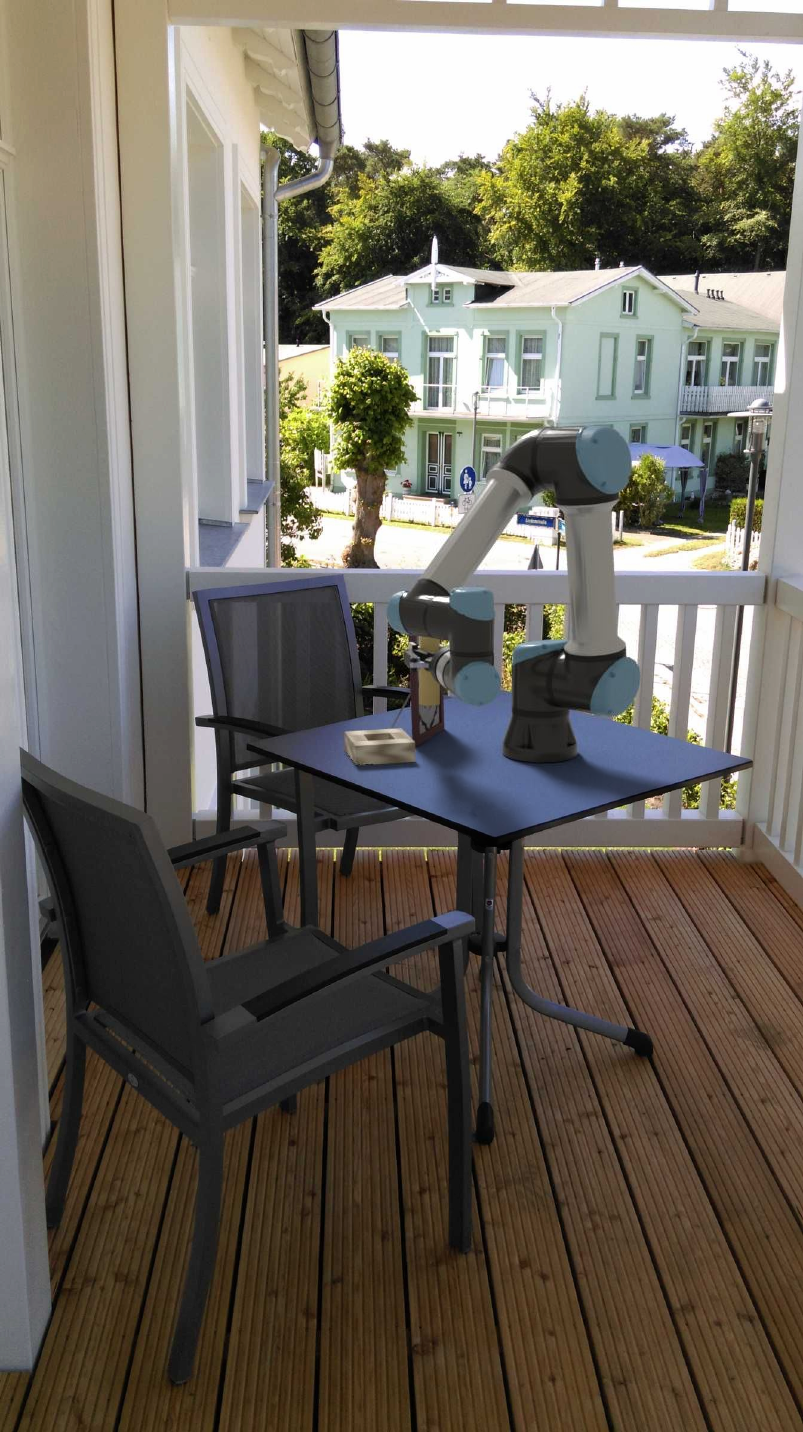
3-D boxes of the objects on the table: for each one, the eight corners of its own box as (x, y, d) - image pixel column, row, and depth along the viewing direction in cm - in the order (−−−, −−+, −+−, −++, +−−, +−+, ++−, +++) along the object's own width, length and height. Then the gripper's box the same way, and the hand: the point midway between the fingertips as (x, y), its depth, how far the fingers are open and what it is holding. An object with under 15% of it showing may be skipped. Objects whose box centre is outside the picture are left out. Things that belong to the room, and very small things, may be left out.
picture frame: (417, 746, 242) (417, 627, 236) (374, 742, 245) (372, 625, 240) (444, 729, 257) (444, 616, 251) (403, 725, 260) (402, 614, 255)
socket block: (401, 746, 242) (401, 728, 241) (415, 761, 230) (415, 742, 229) (344, 750, 239) (344, 731, 238) (355, 765, 228) (355, 745, 227)
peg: (436, 701, 229) (436, 610, 225) (442, 705, 225) (442, 612, 221) (416, 702, 228) (416, 610, 224) (422, 706, 224) (421, 613, 220)
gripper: (409, 692, 206) (380, 669, 228) (500, 687, 210) (463, 665, 232) (409, 651, 205) (379, 631, 227) (501, 646, 209) (463, 627, 231)
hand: (422, 648), depth 230 cm, fingers closed on peg, 4 cm apart
